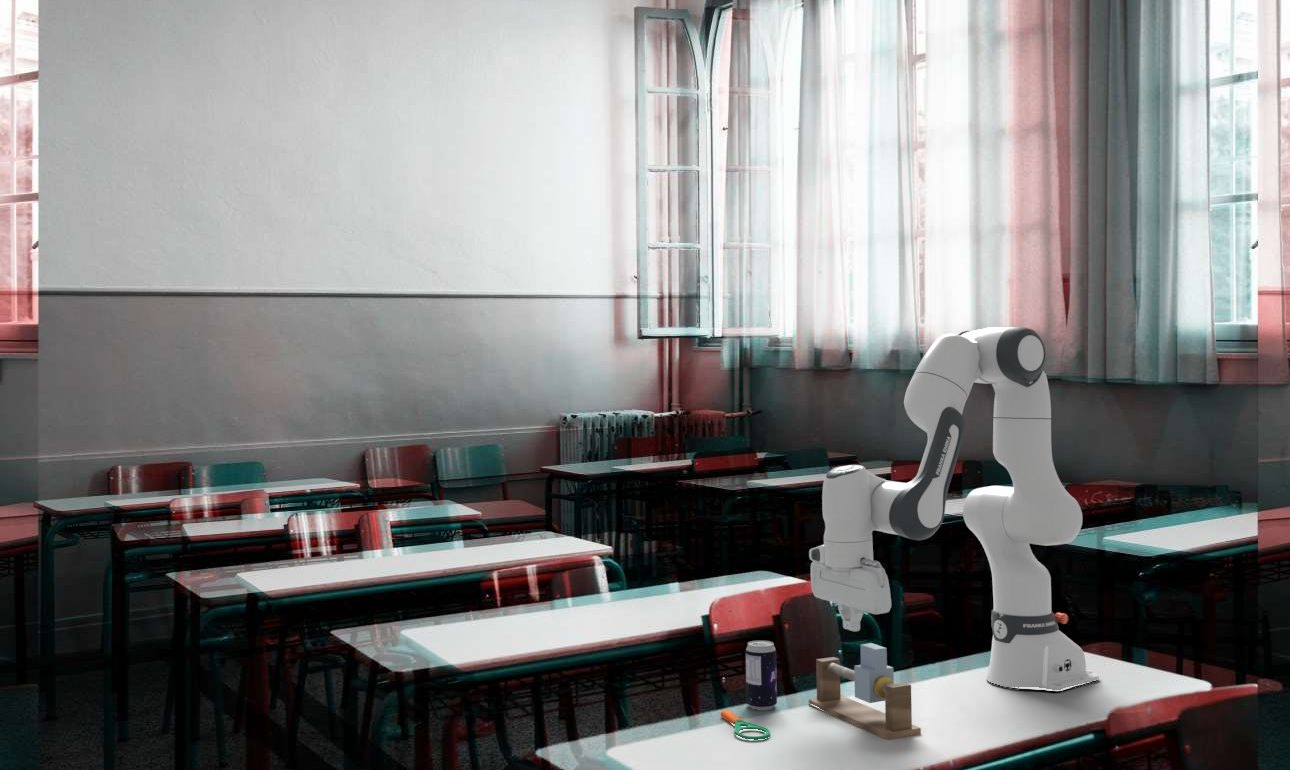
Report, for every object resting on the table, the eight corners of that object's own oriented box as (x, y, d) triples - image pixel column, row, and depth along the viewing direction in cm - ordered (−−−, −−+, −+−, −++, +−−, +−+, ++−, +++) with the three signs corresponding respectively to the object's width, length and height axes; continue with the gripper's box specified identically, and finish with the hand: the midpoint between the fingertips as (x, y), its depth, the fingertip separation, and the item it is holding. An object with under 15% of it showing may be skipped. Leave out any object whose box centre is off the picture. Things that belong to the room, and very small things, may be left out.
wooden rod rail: (808, 704, 215) (807, 657, 215) (839, 699, 218) (838, 652, 218) (887, 739, 193) (886, 686, 193) (920, 733, 196) (919, 681, 196)
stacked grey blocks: (854, 697, 203) (853, 645, 203) (878, 693, 205) (877, 642, 205) (869, 703, 199) (868, 650, 199) (893, 699, 201) (893, 647, 201)
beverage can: (775, 712, 211) (774, 647, 211) (744, 710, 212) (743, 646, 212) (778, 703, 216) (777, 640, 216) (748, 702, 217) (747, 639, 217)
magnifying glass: (776, 741, 195) (776, 731, 195) (744, 745, 193) (744, 735, 193) (740, 717, 209) (740, 708, 209) (710, 720, 207) (709, 711, 207)
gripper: (898, 560, 201) (901, 638, 201) (831, 546, 219) (834, 617, 219) (868, 564, 198) (872, 643, 198) (803, 549, 216) (806, 622, 217)
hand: (851, 629), depth 209 cm, fingers closed
